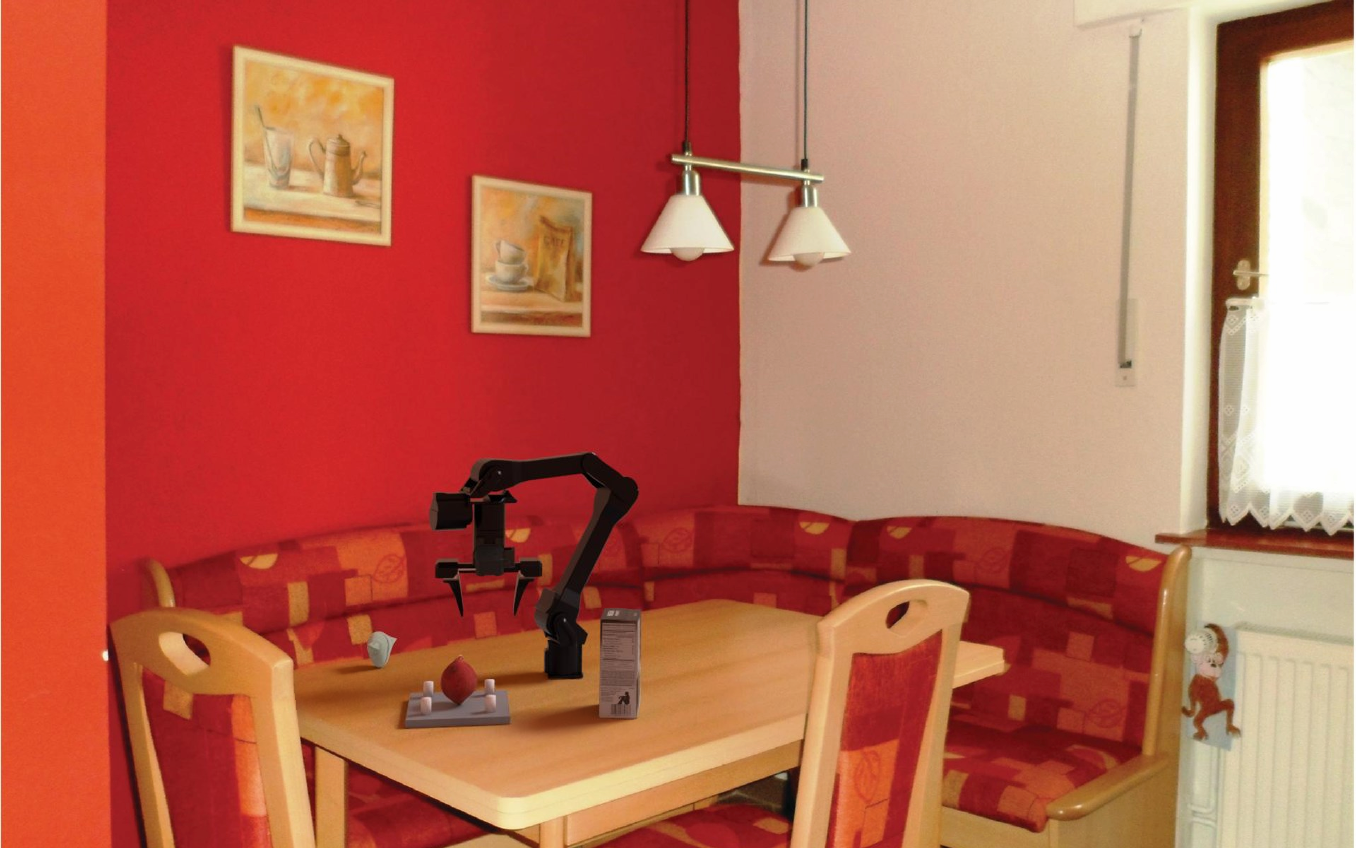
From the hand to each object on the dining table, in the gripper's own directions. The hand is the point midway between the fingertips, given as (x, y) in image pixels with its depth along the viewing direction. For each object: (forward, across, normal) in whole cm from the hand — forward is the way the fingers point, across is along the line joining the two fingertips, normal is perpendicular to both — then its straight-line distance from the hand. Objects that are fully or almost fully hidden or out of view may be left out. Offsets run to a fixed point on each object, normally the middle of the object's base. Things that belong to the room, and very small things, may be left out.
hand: (488, 616), depth 201 cm
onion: (+11, -5, -18) cm, 22 cm away
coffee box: (+12, +21, -21) cm, 32 cm away
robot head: (+12, -20, +14) cm, 27 cm away
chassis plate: (+12, -5, -18) cm, 22 cm away
